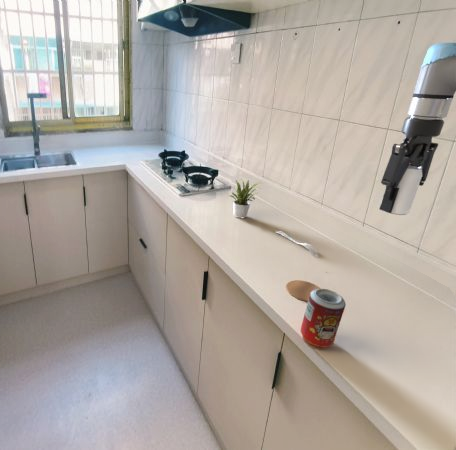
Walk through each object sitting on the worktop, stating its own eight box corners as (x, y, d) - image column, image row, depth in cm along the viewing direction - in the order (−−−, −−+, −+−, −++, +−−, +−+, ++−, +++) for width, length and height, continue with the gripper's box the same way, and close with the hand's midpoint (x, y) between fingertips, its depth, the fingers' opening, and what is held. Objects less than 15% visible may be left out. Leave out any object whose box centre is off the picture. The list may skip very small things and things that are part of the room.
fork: (279, 237, 132) (280, 230, 132) (320, 256, 114) (321, 249, 113) (273, 237, 132) (274, 231, 131) (313, 257, 113) (314, 250, 112)
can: (375, 205, 92) (389, 162, 87) (402, 207, 91) (417, 164, 86) (385, 213, 86) (400, 167, 82) (413, 216, 85) (430, 170, 80)
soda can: (310, 353, 73) (323, 306, 68) (293, 330, 80) (304, 287, 75) (339, 350, 74) (354, 304, 69) (320, 328, 81) (333, 285, 76)
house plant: (266, 217, 145) (272, 180, 138) (249, 226, 135) (256, 187, 129) (236, 208, 154) (241, 173, 147) (219, 216, 144) (224, 179, 138)
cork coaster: (323, 286, 97) (323, 285, 97) (325, 305, 89) (325, 304, 89) (286, 278, 101) (286, 277, 100) (285, 296, 92) (285, 295, 92)
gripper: (433, 115, 86) (404, 200, 95) (382, 116, 79) (355, 208, 88) (467, 119, 80) (432, 210, 89) (415, 120, 72) (383, 219, 82)
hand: (394, 209), depth 88 cm, fingers closed on can, 6 cm apart
